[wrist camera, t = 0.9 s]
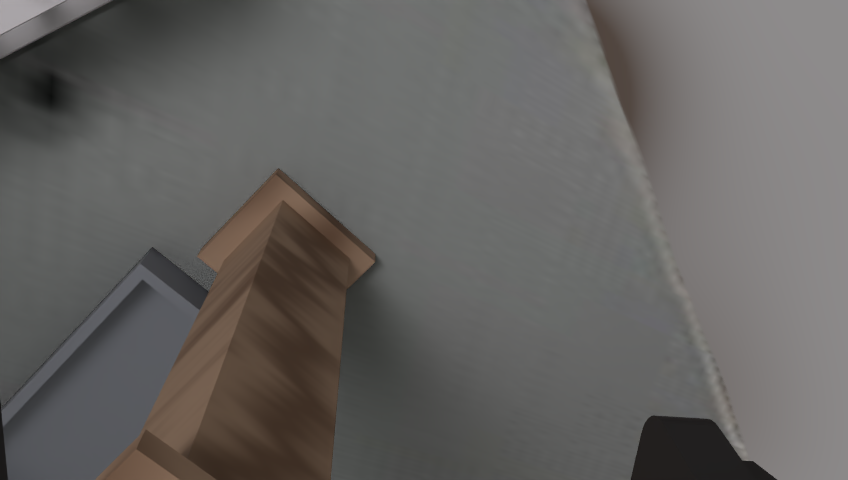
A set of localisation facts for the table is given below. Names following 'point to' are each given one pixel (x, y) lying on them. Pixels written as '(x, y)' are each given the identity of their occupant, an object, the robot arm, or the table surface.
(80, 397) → the parts tray
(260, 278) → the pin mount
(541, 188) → the table surface
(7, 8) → the test tube rack
